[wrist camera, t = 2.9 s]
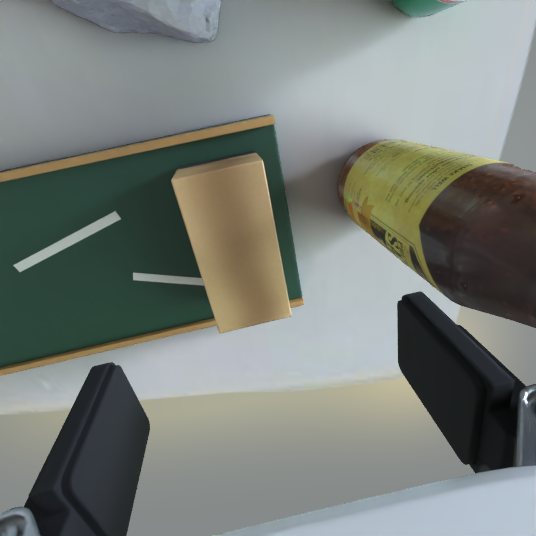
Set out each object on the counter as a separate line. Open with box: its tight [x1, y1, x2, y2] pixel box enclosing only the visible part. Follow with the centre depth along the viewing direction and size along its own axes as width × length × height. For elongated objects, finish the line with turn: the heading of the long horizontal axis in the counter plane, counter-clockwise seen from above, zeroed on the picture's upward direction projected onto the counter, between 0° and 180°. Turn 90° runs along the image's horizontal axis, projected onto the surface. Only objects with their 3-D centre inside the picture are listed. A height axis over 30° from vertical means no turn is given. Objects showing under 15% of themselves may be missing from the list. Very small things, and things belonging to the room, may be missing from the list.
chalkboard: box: [0, 115, 304, 376], centre depth 24 cm, size 26×14×2 cm, turn 101°
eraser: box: [171, 151, 292, 333], centre depth 22 cm, size 5×10×4 cm, turn 11°
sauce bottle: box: [338, 140, 536, 328], centre depth 16 cm, size 7×6×20 cm
